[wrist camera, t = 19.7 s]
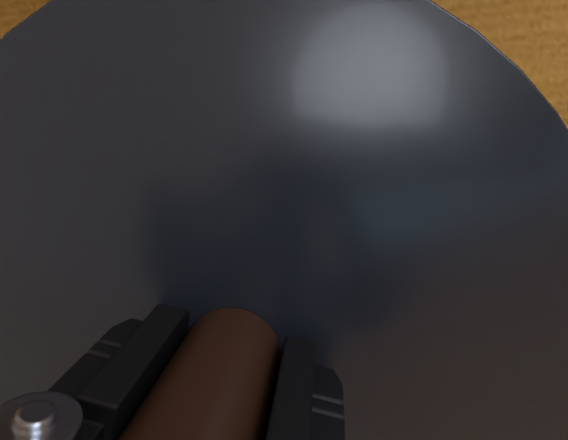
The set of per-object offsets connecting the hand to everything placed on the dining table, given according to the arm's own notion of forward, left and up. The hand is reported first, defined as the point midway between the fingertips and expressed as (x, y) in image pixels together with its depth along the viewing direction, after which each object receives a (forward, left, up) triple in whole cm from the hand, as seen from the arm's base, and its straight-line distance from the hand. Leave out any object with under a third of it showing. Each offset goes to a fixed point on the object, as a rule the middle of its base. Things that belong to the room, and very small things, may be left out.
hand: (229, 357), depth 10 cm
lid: (0, 0, -1) cm, 1 cm away
